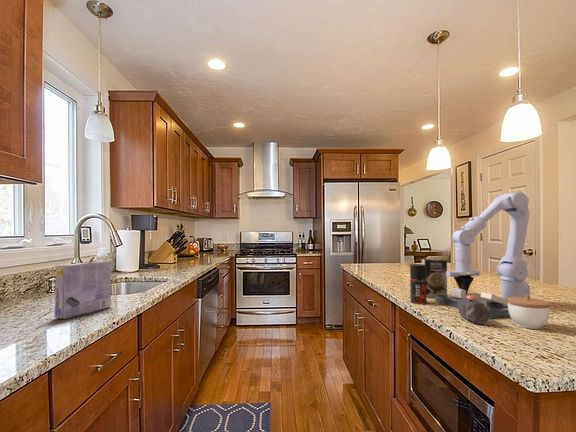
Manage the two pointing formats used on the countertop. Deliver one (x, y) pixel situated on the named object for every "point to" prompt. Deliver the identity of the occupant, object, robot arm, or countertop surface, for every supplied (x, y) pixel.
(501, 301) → the beige rectangular block
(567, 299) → the countertop surface
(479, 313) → the perforated stone tool
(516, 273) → the robot arm
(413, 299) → the deodorant
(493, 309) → the panel
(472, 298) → the button
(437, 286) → the coffee box
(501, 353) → the countertop surface
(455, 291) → the fader knob
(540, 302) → the lidded jar
